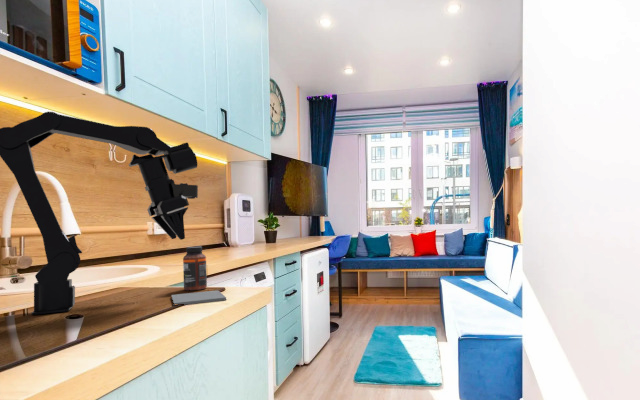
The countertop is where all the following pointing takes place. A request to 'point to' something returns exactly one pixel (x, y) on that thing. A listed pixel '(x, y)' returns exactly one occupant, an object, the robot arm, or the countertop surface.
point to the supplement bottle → (194, 269)
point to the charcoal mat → (198, 297)
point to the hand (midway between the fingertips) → (178, 238)
